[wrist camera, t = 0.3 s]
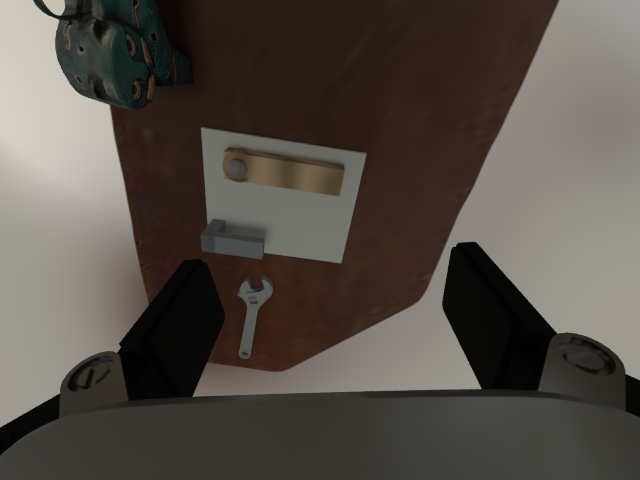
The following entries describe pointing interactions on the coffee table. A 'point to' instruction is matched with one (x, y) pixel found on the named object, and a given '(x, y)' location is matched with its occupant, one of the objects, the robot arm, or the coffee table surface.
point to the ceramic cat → (117, 51)
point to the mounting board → (276, 203)
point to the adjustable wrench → (252, 310)
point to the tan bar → (282, 171)
